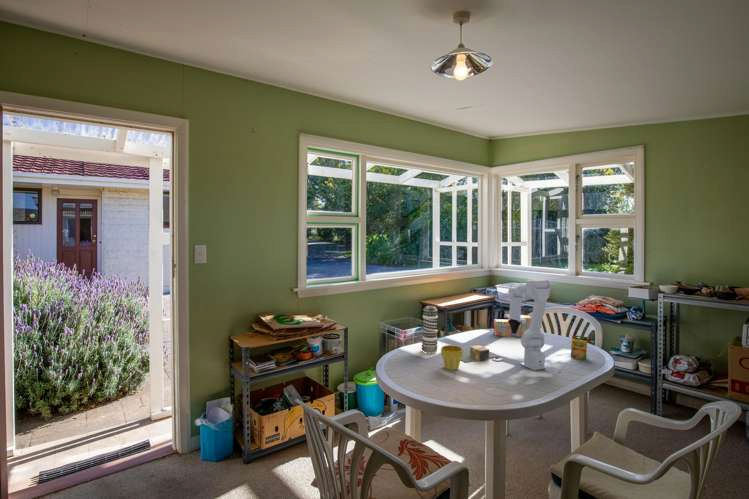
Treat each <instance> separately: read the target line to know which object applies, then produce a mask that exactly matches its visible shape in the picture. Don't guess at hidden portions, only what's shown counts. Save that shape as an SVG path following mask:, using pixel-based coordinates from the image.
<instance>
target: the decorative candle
mask: <svg viewBox="0 0 749 499" xmlns="http://www.w3.org/2000/svg"><path fill="white" fill-rule="evenodd" d="M422 311H423V312H422V313H423V314H422V316H421V325H422V327H421V330H422V339H421V351H422V350H423V351H424V352H426V353H436V352H437V353H438V336H437V334H438V331H439V330H438V329H439V327H438V326H439V324H438V323H439V322H440V321H439V319H440V318H439V317H438V316H439V315H438V308H437V307H436V306H434V305H426V306H424V308H422ZM437 353H436V354H437Z"/></svg>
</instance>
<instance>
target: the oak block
mask: <svg viewBox="0 0 749 499" xmlns="http://www.w3.org/2000/svg"><path fill="white" fill-rule="evenodd" d="M489 352H490V349H489V348H487V347H485V346H482V345H480V344H477V345H471V346H470V356H472V357H474V358H476V359H478V361H484V360H485V361H486V360H490V359H489Z"/></svg>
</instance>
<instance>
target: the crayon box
mask: <svg viewBox="0 0 749 499" xmlns="http://www.w3.org/2000/svg"><path fill="white" fill-rule="evenodd" d="M587 349H588V336H581V335H575V334H572V339H571V350H570V358H571V359H572V358H573V359H577V358H578V360H584V359H585V361H586V360H587V352H588V350H587Z"/></svg>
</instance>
